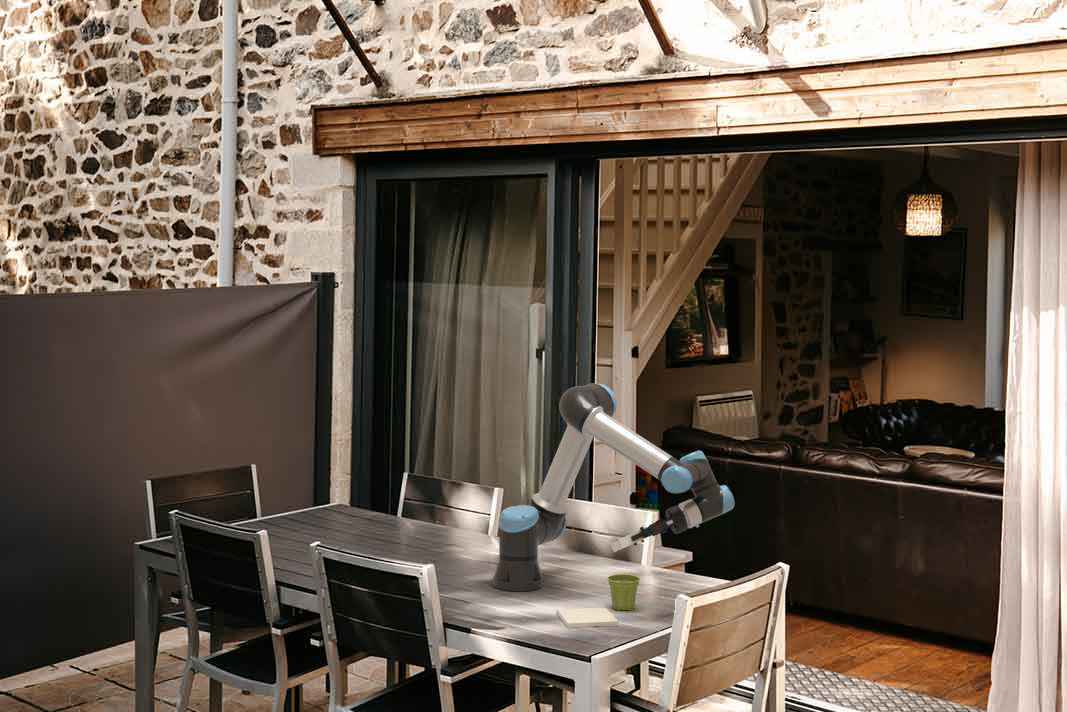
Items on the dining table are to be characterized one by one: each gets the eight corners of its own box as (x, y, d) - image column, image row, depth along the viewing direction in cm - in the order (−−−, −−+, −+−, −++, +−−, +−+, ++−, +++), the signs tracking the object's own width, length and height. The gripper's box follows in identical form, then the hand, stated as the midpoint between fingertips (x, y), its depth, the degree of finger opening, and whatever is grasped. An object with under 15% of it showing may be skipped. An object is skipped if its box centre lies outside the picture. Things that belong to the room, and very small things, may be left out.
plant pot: (621, 614, 347) (621, 583, 346) (599, 606, 354) (600, 576, 354) (646, 609, 352) (647, 579, 352) (625, 602, 360) (625, 572, 359)
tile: (556, 613, 347) (556, 609, 346) (605, 611, 349) (605, 607, 349) (567, 627, 333) (567, 623, 333) (618, 625, 336) (618, 621, 336)
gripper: (698, 524, 344) (629, 554, 340) (678, 533, 368) (613, 561, 364) (687, 499, 345) (618, 529, 341) (667, 509, 369) (603, 537, 365)
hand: (615, 546), depth 352 cm, fingers open, 13 cm apart
